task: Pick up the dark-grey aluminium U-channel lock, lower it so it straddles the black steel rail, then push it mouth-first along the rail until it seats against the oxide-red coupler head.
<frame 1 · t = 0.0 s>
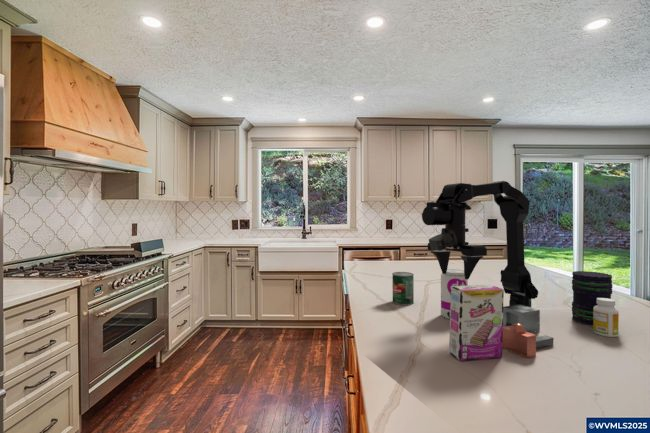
hand: (455, 276, 100), 15 cm above the countertop, tool pointing down, fingers open, 9 cm apart
coupler rail: (536, 347, 83), on the countertop
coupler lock: (520, 328, 97), on the countertop
supplement bottle: (605, 334, 93), on the countertop
canned tomato: (402, 303, 126), on the countertop
candy bar box: (475, 356, 79), on the countertop
supplement can: (454, 317, 108), on the countertop
storage jar: (591, 322, 103), on the countertop
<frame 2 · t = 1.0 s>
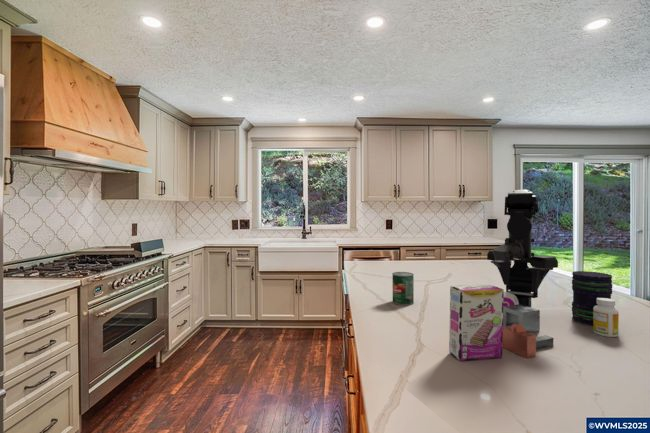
hand: (519, 288, 97), 12 cm above the countertop, tool pointing down, fingers open, 9 cm apart
supplement can: (465, 304, 108), point 4 cm above the countertop
everything else where it was.
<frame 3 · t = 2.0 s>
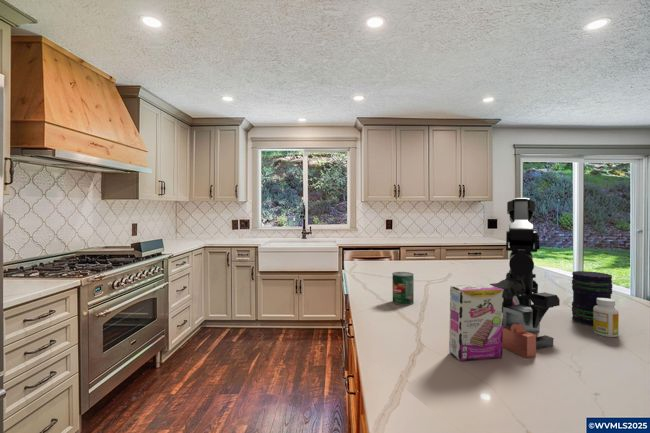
hand: (520, 323, 97), 2 cm above the countertop, tool pointing down, fingers open, 8 cm apart
supplement can: (466, 304, 108), point 4 cm above the countertop, touching gripper
everything else where it was.
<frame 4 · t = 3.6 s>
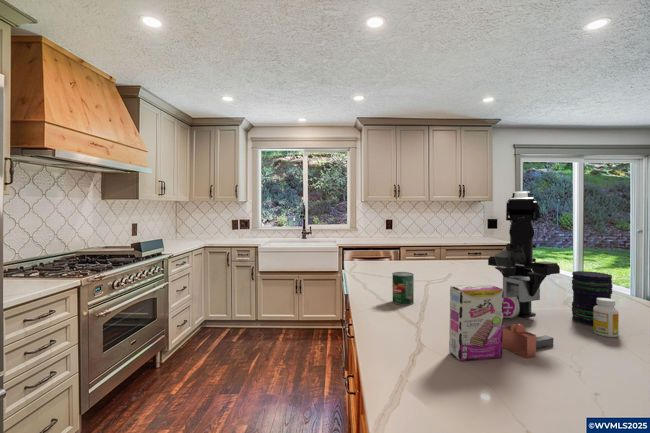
hand: (520, 293, 97), 10 cm above the countertop, tool pointing down, fingers closed on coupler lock, 6 cm apart
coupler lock: (521, 298, 97), point 9 cm above the countertop, touching gripper
supplement can: (466, 304, 108), point 4 cm above the countertop
everything else where it was.
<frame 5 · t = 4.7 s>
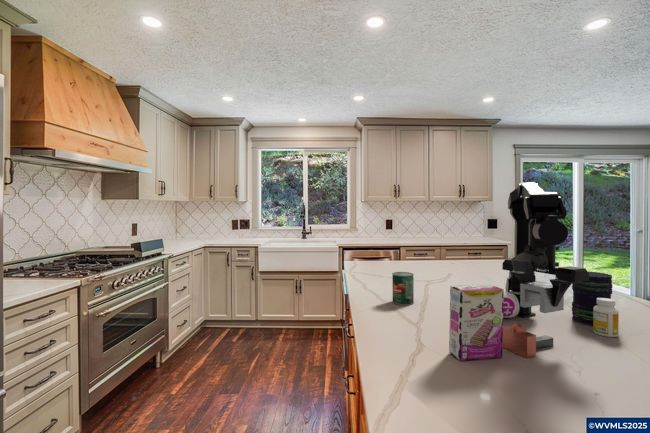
hand: (541, 303, 84), 11 cm above the countertop, tool pointing down, fingers closed on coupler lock, 6 cm apart
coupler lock: (541, 308, 84), point 10 cm above the countertop, touching gripper
everything else where it was.
when the fingers open (3 cm above the countertop, at t = 6.5 s): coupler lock drops 2 cm, resting in coupler rail.
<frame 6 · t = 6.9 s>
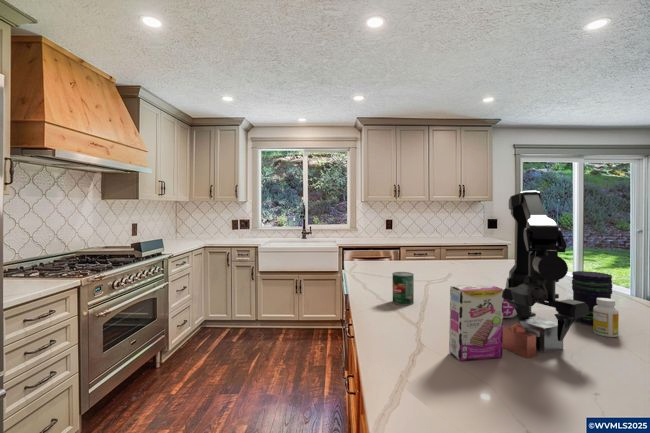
hand: (541, 334, 84), 3 cm above the countertop, tool pointing down, fingers open, 9 cm apart
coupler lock: (541, 346, 84), resting in coupler rail
everything else where it was.
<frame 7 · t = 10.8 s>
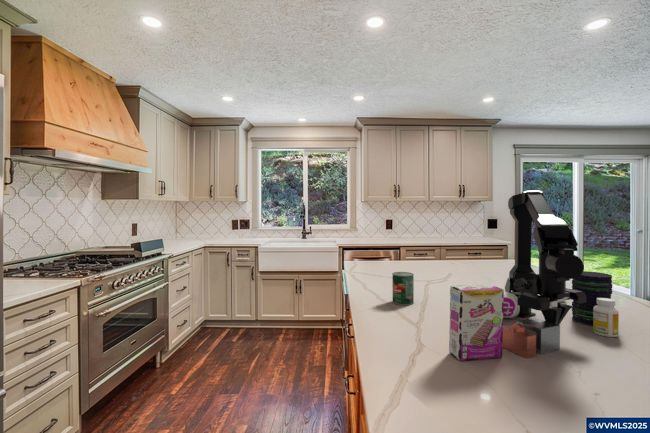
hand: (552, 331, 86), 3 cm above the countertop, tool pointing down, fingers closed
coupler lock: (537, 346, 84), resting in coupler rail, touching gripper
supplement can: (466, 304, 108), point 4 cm above the countertop, touching arm
everything else where it was.
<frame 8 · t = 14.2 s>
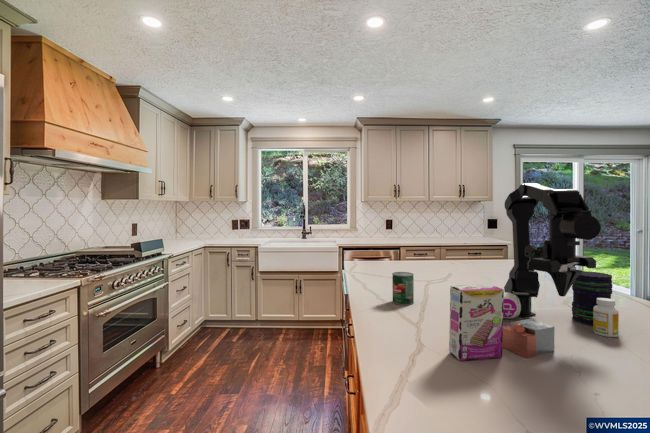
hand: (561, 296, 87), 12 cm above the countertop, tool pointing down, fingers closed
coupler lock: (532, 348, 83), resting in coupler rail
at the end: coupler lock 0.4 cm from the target spot on the coupler rail, point 0.0 cm above the coupler rail's base; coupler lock tilted 0°; the gripper is holding nothing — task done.
